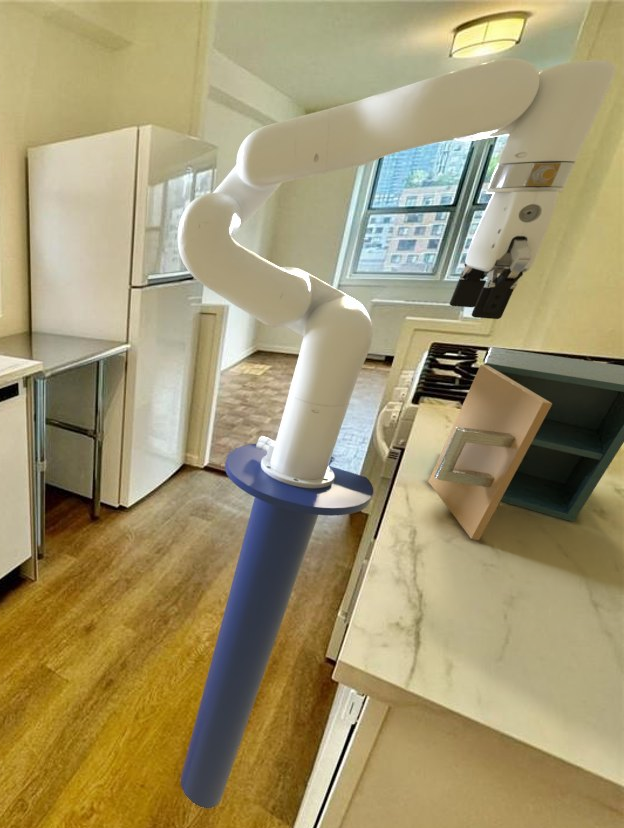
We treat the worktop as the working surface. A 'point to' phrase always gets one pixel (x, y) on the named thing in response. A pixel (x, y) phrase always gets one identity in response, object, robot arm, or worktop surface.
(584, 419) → the mini fridge
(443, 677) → the worktop surface
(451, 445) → the fridge door
